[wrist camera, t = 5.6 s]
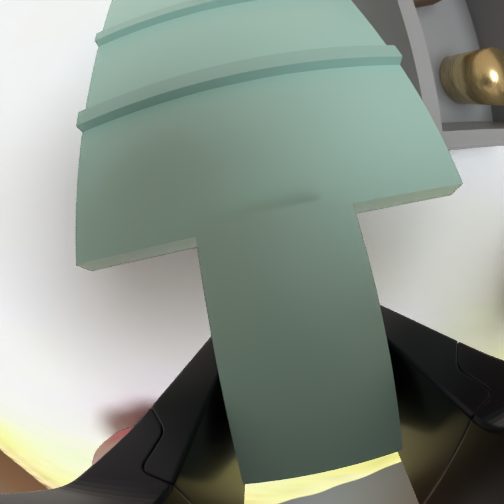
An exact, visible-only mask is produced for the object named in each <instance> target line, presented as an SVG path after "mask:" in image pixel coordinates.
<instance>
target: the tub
mask: <svg viewBox="0 0 504 504" xmlns="http://www.w3.org/2000/svg"><path fill="white" fill-rule="evenodd" d="M351 1H352V2H353V3H354V4H355V6H356V7H357V8H358V9H359V10H360V12H361V13H362V14H363V15H364V16H365V18H366V19H367V20H368V21H369V23H370V24H371V25H372V27H373V28H374V29H375V30H376V32H377V33H378V34H379V36H380V37H381V38H382V40H383V41H384V42H385V44H386V45H395V46H396V48H397V49H398V51H399V52H400V53H401V55H402V56H403V57H402V60H401V63H400V66H401V67H402V69H403V70H404V72H405V73H406V75H407V76H408V78H409V79H410V81H411V83H412V84H413V86H414V88H415V89H416V91H417V93H418V94H419V96H420V98H421V99H422V101H423V103H424V105H425V106H426V108H427V110H428V112H429V114H430V115H431V117H432V119H433V121H434V123H435V125H436V127H437V129H438V131H439V132H440V134H441V136H442V138H443V140H444V143H445V145H446V147H447V149H448V150H455V149H465V148H476V147H488V146H502V145H504V106H501V105H462V104H458V103H456V102H454V101H453V100H451V99H450V98H449V97H448V96H447V94H446V93H445V91H444V89H443V87H442V85H441V82H440V77H439V68H440V64H441V62H442V61H443V59H444V58H446V57H447V56H451V55H455V54H460V53H464V52H469V51H474V50H479V49H484V48H489V47H495V48H498V49H500V50H501V51H503V52H504V0H441V1H439V2H437V3H435V4H433V5H429V6H423V7H417V8H415V5H414V2H413V0H351Z"/></svg>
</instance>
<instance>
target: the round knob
mask: <svg viewBox="0 0 504 504" xmlns="http://www.w3.org/2000/svg"><path fill="white" fill-rule="evenodd" d="M439 77H440V82H441V85H442V87H443V89H444V91H445V93H446V94H447V96H448V97H449V98H450V99H451V100H453V101H454V102H456V103H458V104H462V105H501V106H504V52H503V51H501V50H500V49H498V48H495V47H489V48H484V49H479V50H474V51H469V52H464V53H460V54H455V55H451V56H447V57H446V58H444V59H443V61H442V62H441V64H440V68H439Z"/></svg>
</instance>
